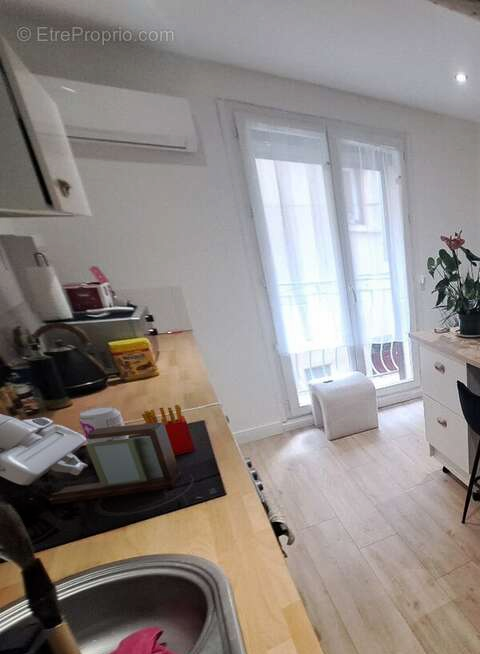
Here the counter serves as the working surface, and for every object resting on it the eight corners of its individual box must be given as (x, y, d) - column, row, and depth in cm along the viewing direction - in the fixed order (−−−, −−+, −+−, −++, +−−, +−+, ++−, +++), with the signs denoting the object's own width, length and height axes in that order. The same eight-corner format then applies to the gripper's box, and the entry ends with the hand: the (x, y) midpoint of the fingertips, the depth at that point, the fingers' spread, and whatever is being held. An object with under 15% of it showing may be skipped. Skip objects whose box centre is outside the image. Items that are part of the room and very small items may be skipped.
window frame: (51, 505, 99) (22, 443, 93) (67, 492, 104) (41, 432, 98) (172, 487, 107) (153, 429, 101) (181, 476, 113) (164, 420, 107)
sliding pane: (102, 487, 103) (85, 444, 99) (104, 486, 104) (87, 443, 100) (147, 481, 106) (132, 439, 102) (148, 480, 107) (134, 438, 103)
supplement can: (101, 467, 116) (82, 418, 111) (92, 459, 120) (73, 412, 115) (138, 455, 123) (122, 409, 117) (128, 448, 127) (112, 403, 121)
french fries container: (153, 453, 124) (139, 410, 119) (191, 444, 130) (179, 403, 126) (156, 461, 120) (141, 417, 115) (195, 451, 126) (183, 409, 121)
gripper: (-15, 450, 86) (64, 482, 92) (50, 414, 103) (112, 443, 110) (-35, 472, 86) (46, 503, 92) (33, 433, 103) (97, 460, 110)
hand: (82, 470), depth 101 cm, fingers closed
